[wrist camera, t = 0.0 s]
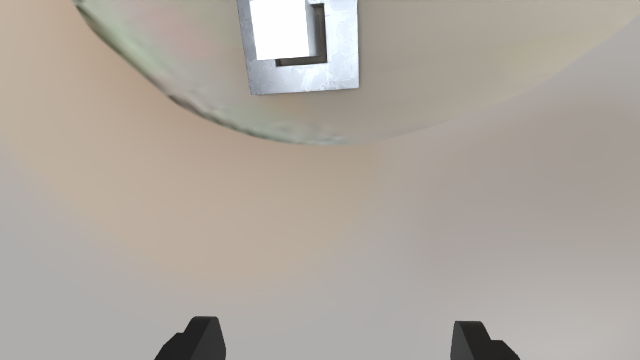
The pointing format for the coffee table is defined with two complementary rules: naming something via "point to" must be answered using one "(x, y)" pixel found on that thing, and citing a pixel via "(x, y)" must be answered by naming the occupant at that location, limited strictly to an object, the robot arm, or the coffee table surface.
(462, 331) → the robot arm
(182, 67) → the coffee table surface
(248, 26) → the plate with square holes
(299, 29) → the brushed steel peg
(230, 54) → the coffee table surface
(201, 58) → the coffee table surface
